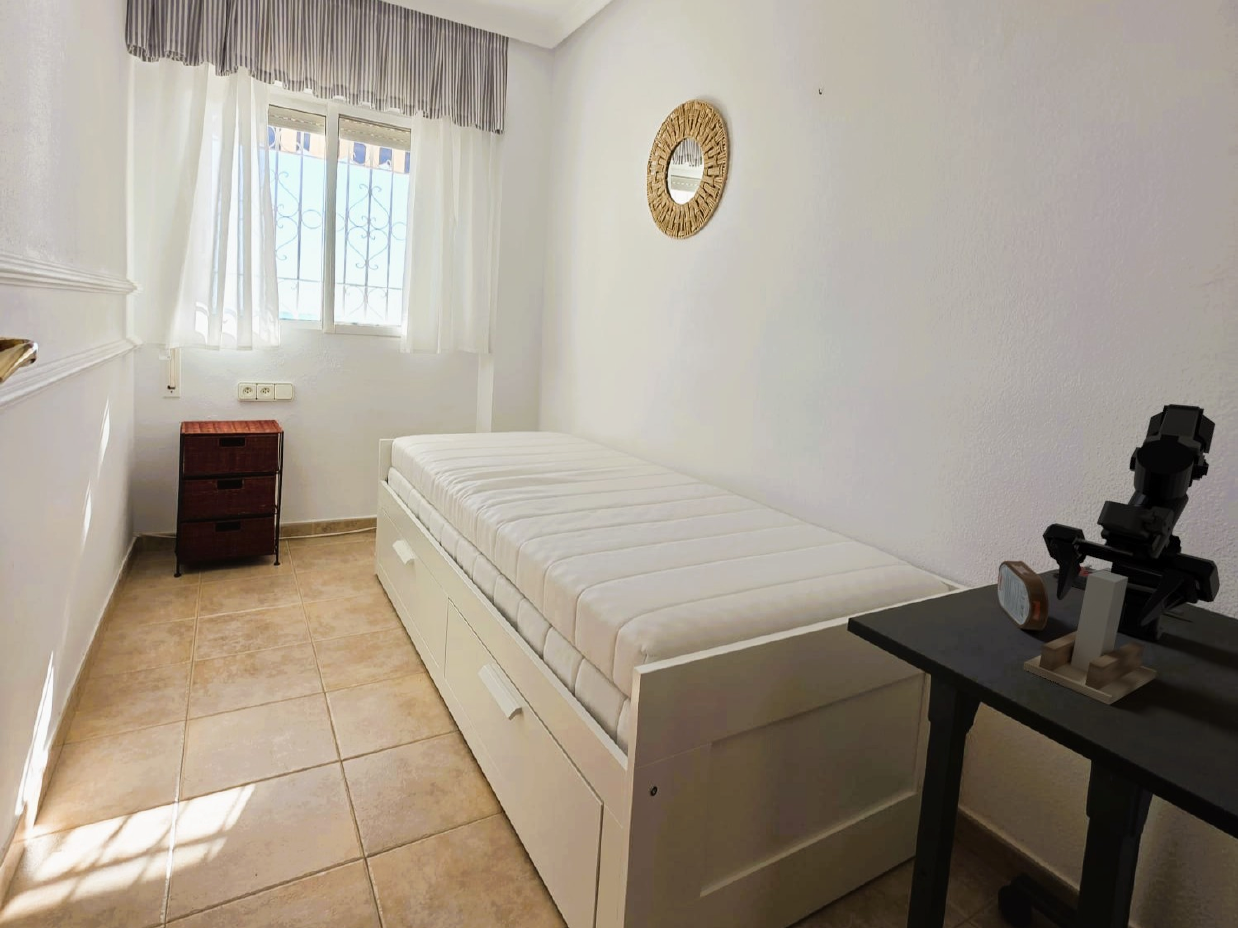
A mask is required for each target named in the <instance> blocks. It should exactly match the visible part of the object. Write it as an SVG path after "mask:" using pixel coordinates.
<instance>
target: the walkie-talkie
mask: <svg viewBox="0 0 1238 928" xmlns="http://www.w3.org/2000/svg"><path fill="white" fill-rule="evenodd" d="M1080 566H1081V565H1080ZM1101 570H1103V571H1107V572H1110V573H1111V567H1104V568H1101V569H1095V568H1093V565H1092V564H1086V565H1084V566H1081V571H1080V573H1079V575H1078V576H1077V578H1076V580H1075V581H1074V583H1073V585H1072V586H1071V587H1073V586H1075V587H1074V588H1077V587H1078V588H1077V589H1080V588H1081V589H1080V590H1084V591H1085V589H1086V584H1087V579H1088V575H1089V574H1092V573H1095V572H1098V571H1101ZM1058 576H1059V572H1054V573H1052V578H1054V579H1055V580H1058ZM1184 612H1185V611H1183V610H1181V609H1178V608H1174V609H1171V610H1169V611H1167V612H1166V613H1170V614H1175V615H1178V616H1184V615H1185V613H1184Z"/></svg>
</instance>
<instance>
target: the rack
mask: <svg viewBox="0 0 1238 928" xmlns="http://www.w3.org/2000/svg"><path fill="white" fill-rule="evenodd" d="M1076 635H1077V630H1075V631H1073V632H1071V633H1068V634H1065V635H1064V636H1061V637H1058V638H1057V639H1054V640H1051V641H1050V642H1047V643H1044V644H1042V649H1041V653H1040V655H1037V656H1036V657H1033V658H1032V659H1029V660H1026V661H1024V662H1023V668H1022V669H1023V670H1024V671H1027V672H1028V671H1029V673H1031V674H1033V673H1034V675H1036V676H1038V677H1040V676H1041V678H1043V679H1045V678H1046V679H1045V680H1048V681H1050V680H1051V682H1053V681H1054V682H1053V683H1055V682H1056V683H1055V684H1057V683H1059V684H1058V685H1060V686H1063V687H1065V688H1068V689H1069V690H1073V692H1077V693H1080V694H1083V695H1085V696H1087V697H1089V698H1091V699H1093V700H1096V701H1098V702H1101V703H1104V704H1105V705H1111V704H1113V703H1115V702H1116V701H1118V700H1120V699H1122V698H1123V697H1125V696H1127V695H1129V694H1131V693H1132V692H1134V691H1135V690H1137V689H1139V688H1140V687H1143V685H1146V684H1147V683H1149V682H1151V681H1152V680H1155V678H1156V674H1157V670H1155V669H1152V668H1148V667H1146V666H1144V665H1142V661H1143V656H1144V652H1145V647H1146V645H1144V644H1142V643H1139V642H1135V641H1130V642H1129V643H1127V644H1125V645H1122V646H1121V647H1118V648H1116V649H1115V650H1114V649H1113V651H1112V652H1110V653H1108V654H1106V655H1104V656H1102V657H1100V658H1098V659H1096V660H1094V661H1092V662H1090V663H1089V667H1088V672H1087V671H1084V670H1082V669H1079V668H1077V667H1074V666H1072V665H1071V661H1072V656H1073V651H1074V645H1075V640H1076Z"/></svg>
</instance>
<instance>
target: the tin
mask: <svg viewBox="0 0 1238 928" xmlns="http://www.w3.org/2000/svg"><path fill="white" fill-rule="evenodd" d="M997 577H998V578H997V586H996V595H997V601H998V603H999V606H1000V607H1001V609H1002V610H1003V611H1004V613H1005V615H1007V616H1008V617H1009V618H1010V620H1011V621H1012V622H1013V623H1014V624H1015V626H1016V627H1017V628H1019V629H1021V630H1025V631H1026V630H1029V631H1036V632H1041V631H1042V630H1044V628H1045V626H1046V624H1047V621H1048V617H1049V610H1050V609H1049V605H1050V604H1049V595H1048V590H1047V586H1046V584H1045V582H1044V581H1045V580H1043V578H1042V577H1041V576H1040V575H1039V574H1038V573H1037V572H1035V571H1034V570H1033V569H1032V568H1031V567H1030V566H1028V565H1027V564H1026V563H1025V562H1024V561H1023V560H1004V561H1002V562H1001V563H1000V565H999V567H998V576H997Z"/></svg>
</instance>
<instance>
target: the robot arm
mask: <svg viewBox="0 0 1238 928" xmlns="http://www.w3.org/2000/svg"><path fill="white" fill-rule="evenodd" d="M1204 411H1205V408H1203V407H1200V406H1198V405H1189V404H1188V405H1186V404H1174V403H1170V404H1168V405H1167V404H1164V405H1163V407H1162V411H1161V412H1158V413H1156V414H1154V415H1152V416H1151V417H1150V419H1149V423H1148V427H1147V431H1146V434H1145V439H1144V440H1143V443H1142V445H1141V447H1139V446H1136V447H1135V448H1134V450H1133V452H1132V454H1131V457H1130V460H1129V471H1131V472H1134V475H1133V488H1134V492H1133V494H1132V495H1131V497H1130V498H1129V501H1128V502H1127V504H1126V503H1123V502H1118V501H1113V500H1104V504H1103V506H1102V509H1101V511H1100V514H1099V517H1098V519H1097V522H1096V524H1097V525H1098V526H1100V527H1102V529H1101V531H1100V534H1099V535H1100V537H1101V539H1102V540H1106V541H1105V542H1104V544H1103V543H1098V542H1095V541H1091V540H1087V539H1086V537H1085V535H1084V534H1085V533H1084V531H1083V528H1079V527H1078V528H1077V527H1074V526H1070V525H1069V526H1068V525H1065V524H1061V523H1058V522H1056V523H1051V524H1050V525H1048V526H1047V527H1046V529H1045V531H1043V534H1042V538H1043V540H1044V543H1045V546H1046V549H1047V552H1048V555H1049V557H1050V558H1052V559H1053V560H1055V563H1056V564H1057V565H1058V567H1059V568H1058V573H1059V576H1058V579H1057V586H1056V598H1057V600H1058V601H1062V600H1063V599H1064V598H1065V597H1066V596H1067V594H1068V593H1069V591H1070V589H1071V588H1072V587H1073V586H1072V585H1073V583H1074V581H1075V580H1076V578H1077V576H1078V575H1079V573H1080V571H1081V564H1084V562H1085V560H1086V558H1087V557H1090V558H1094V559H1097V560H1102V561H1106V562H1109V563H1111V567H1110V568H1111V572H1110V573H1114V574H1118V575H1121V576H1125V577H1128V581H1127V586H1126V591H1125V595H1124V600H1123V605H1122V610H1121V615H1120V620H1119V625H1118V629H1117V632H1120V633H1125V634H1127V635H1132V636H1135V637H1139V638H1142V639H1146V640H1149V641H1153V642H1158V641H1159V639H1160V638H1161V637H1162V636H1163V633H1164V631H1165V628H1164V627H1162V626H1160V625H1161V621H1162V616H1163V615H1164V614H1165V613H1168V612H1167V611H1169V610H1171V609H1174V608H1175V609H1177V608H1178V607H1180V606H1183V605H1185V604H1192V605H1196V604H1197V603H1198V602H1199V601H1201V602H1204V603H1213V602H1214V601H1215V599H1216V598H1217V595H1218V593H1219V590H1220V587H1221V584H1220V577H1219V570H1218V565H1217V564H1216V563H1215V561H1214V560H1212V559H1207V558H1204V557H1199V556H1195V555H1192V554H1191V555H1190V554H1188V553H1182V549H1183V548H1182V546H1181V545H1182V544H1181V543H1182V540H1181V538H1180V537H1179V535H1174V534H1173V532H1174V528H1175V526H1176V525H1177V523H1178V521H1179V519H1180V517H1181V516H1182V513H1183V512H1184V509H1185V508H1186V506H1187V504H1188V502H1189V501H1190V500H1189V495H1188V493H1187V492H1188V490H1189V488H1191V487H1192V485H1193V481H1197V482H1198V481H1201V479H1203V477H1204V476H1207V475H1208V471H1209V467H1210V464H1209V463H1208V462H1207V458H1205V457H1206V455H1205V454H1210V452H1211V451H1210V450H1211V447H1212V441H1213V437H1214V432H1215V428H1216V422H1214V421H1213V420H1212V419H1210V418H1209V417H1207V415H1204Z"/></svg>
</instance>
